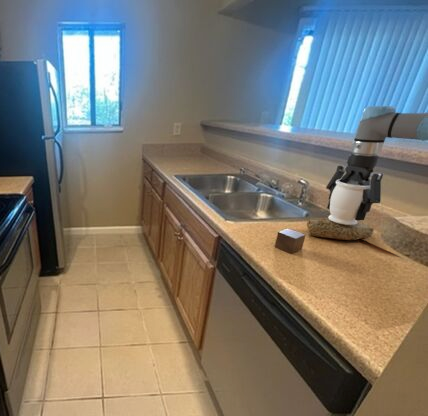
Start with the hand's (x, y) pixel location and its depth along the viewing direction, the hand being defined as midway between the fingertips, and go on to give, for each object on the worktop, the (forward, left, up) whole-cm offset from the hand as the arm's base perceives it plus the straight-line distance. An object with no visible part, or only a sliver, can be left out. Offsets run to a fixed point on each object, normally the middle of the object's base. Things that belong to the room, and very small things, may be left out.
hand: (344, 213), depth 101 cm
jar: (0, 0, -3) cm, 3 cm away
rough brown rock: (0, 0, -10) cm, 10 cm away
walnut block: (-5, +25, -10) cm, 27 cm away
